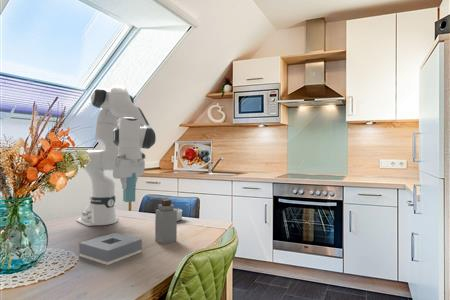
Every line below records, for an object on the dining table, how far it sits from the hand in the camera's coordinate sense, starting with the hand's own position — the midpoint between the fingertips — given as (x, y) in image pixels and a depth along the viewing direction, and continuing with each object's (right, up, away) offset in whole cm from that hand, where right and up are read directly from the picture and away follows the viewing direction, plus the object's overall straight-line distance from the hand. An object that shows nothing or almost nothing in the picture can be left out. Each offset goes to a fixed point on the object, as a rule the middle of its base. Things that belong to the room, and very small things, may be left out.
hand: (129, 187), depth 130 cm
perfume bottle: (+15, -24, +5) cm, 29 cm away
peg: (0, -6, 0) cm, 6 cm away
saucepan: (+10, -24, +47) cm, 54 cm away
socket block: (-3, -24, -12) cm, 27 cm away
